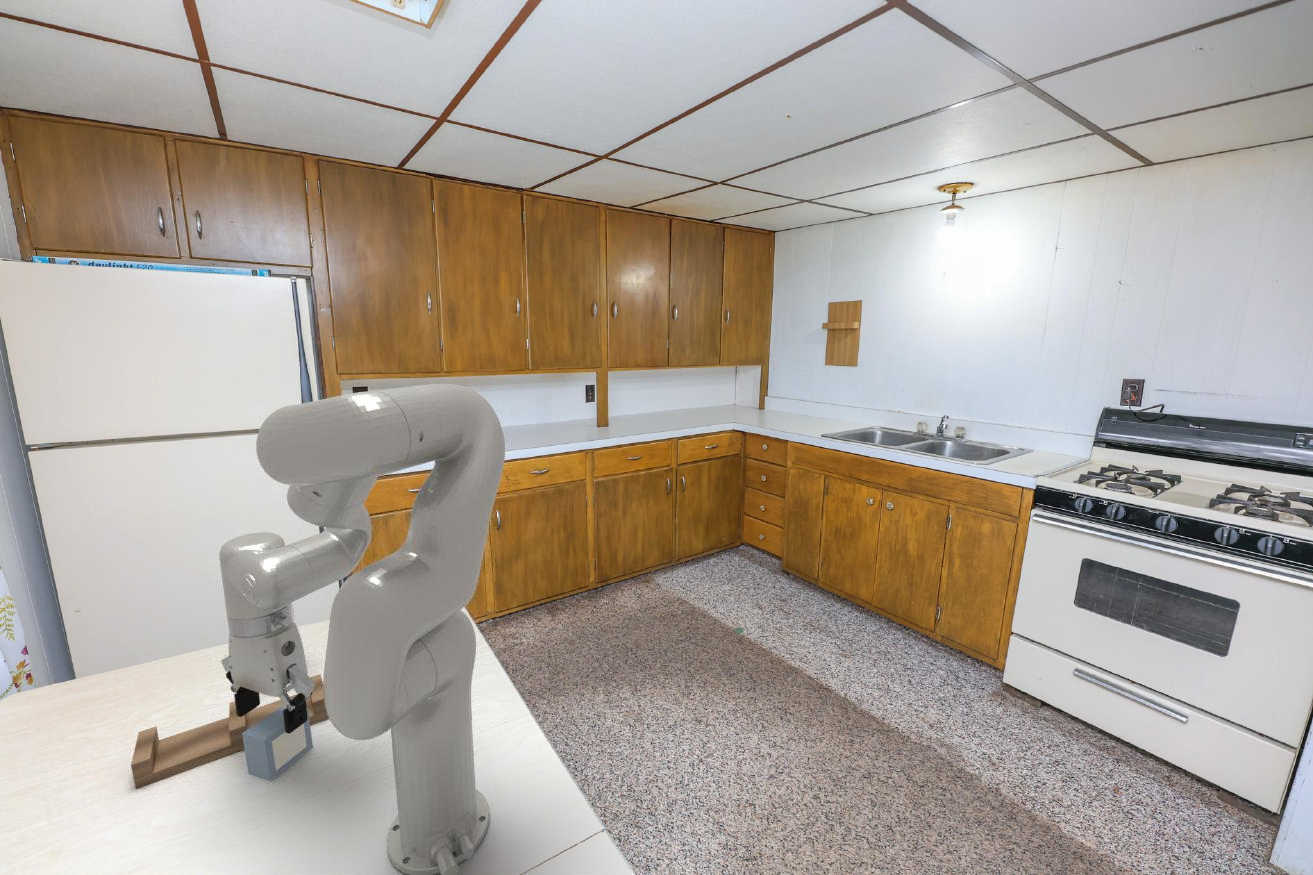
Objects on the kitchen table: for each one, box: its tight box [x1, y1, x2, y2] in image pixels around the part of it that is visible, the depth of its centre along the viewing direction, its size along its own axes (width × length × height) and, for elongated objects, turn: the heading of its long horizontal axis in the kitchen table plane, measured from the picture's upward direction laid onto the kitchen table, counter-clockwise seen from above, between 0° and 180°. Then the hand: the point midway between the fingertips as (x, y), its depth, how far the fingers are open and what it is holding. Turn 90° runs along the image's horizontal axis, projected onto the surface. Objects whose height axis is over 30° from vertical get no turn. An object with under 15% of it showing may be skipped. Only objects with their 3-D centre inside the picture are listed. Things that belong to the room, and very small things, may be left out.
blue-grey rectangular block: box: [242, 705, 314, 782], centre depth 82 cm, size 4×7×7 cm, turn 163°
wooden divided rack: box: [130, 673, 329, 789], centre depth 87 cm, size 8×24×4 cm, turn 128°
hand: (272, 718), depth 81 cm, fingers open, 9 cm apart
